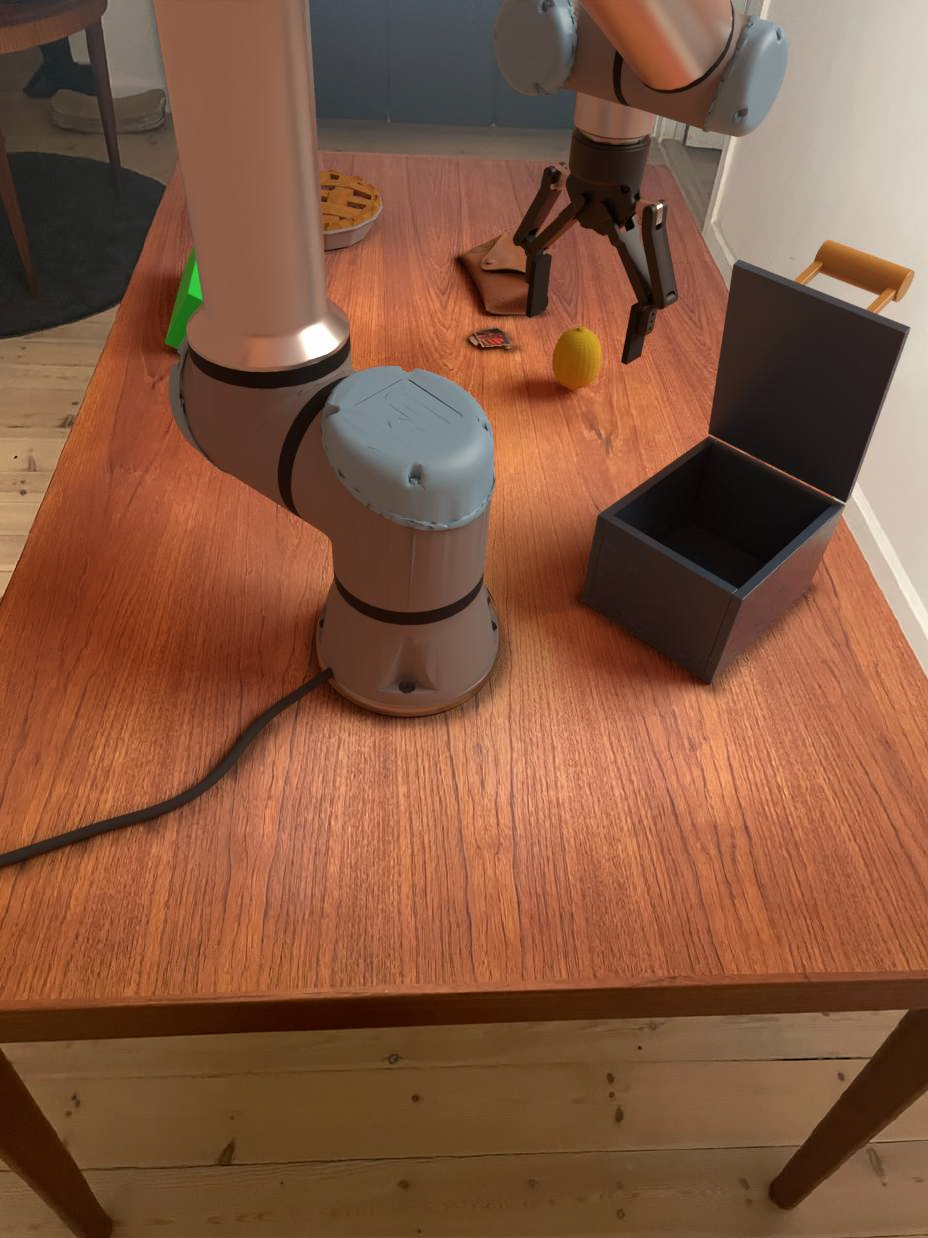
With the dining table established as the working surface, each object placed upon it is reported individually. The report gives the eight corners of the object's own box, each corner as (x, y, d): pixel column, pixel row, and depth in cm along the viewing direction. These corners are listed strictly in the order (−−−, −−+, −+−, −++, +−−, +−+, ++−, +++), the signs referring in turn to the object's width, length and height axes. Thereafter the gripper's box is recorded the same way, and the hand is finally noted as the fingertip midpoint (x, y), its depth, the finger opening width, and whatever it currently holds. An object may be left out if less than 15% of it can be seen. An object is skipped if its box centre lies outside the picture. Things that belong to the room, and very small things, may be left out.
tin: (710, 685, 75) (742, 600, 68) (580, 600, 82) (597, 514, 75) (808, 588, 84) (846, 504, 77) (684, 518, 91) (709, 435, 83)
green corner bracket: (243, 381, 110) (268, 334, 106) (164, 344, 106) (187, 293, 102) (254, 301, 124) (277, 257, 120) (184, 265, 120) (206, 218, 116)
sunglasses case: (453, 253, 129) (479, 210, 125) (492, 275, 133) (518, 234, 129) (486, 314, 117) (516, 269, 113) (528, 336, 121) (558, 293, 117)
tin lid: (905, 333, 62) (967, 268, 65) (732, 264, 69) (796, 207, 72) (845, 503, 77) (898, 443, 80) (707, 433, 83) (761, 380, 86)
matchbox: (495, 327, 115) (495, 324, 115) (518, 346, 112) (518, 343, 112) (464, 336, 113) (464, 332, 113) (486, 355, 110) (486, 351, 110)
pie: (376, 260, 127) (375, 224, 123) (218, 251, 126) (213, 214, 123) (389, 199, 142) (389, 165, 138) (249, 190, 141) (245, 156, 138)
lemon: (561, 372, 109) (570, 309, 103) (603, 387, 107) (614, 323, 101) (540, 393, 105) (548, 329, 100) (583, 408, 104) (593, 344, 98)
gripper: (747, 159, 82) (694, 367, 98) (538, 88, 94) (520, 285, 109) (701, 180, 78) (653, 393, 94) (489, 103, 90) (477, 305, 105)
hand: (581, 335), depth 101 cm, fingers open, 13 cm apart
